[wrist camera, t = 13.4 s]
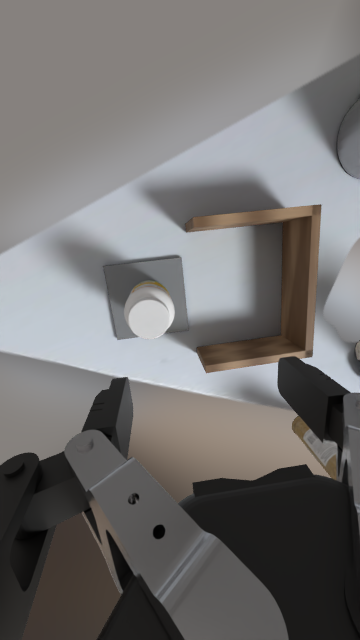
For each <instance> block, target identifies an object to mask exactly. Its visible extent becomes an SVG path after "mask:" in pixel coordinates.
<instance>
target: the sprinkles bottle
mask: <svg viewBox="0 0 360 640" xmlns="http://www.w3.org/2000/svg"><path fill="white" fill-rule="evenodd" d="M292 430H293V431H294V433H295V434H297V435H298V437H299V438H300V439H301V440H302V442H303V443H304V444H305V446H306V447H307V449H308V450H309V451H310V453H311V454H312V455H313V456H314V457H315V459H316V460H317V461H318V462H319V463H320V464H321V465H322V466H323V468H324V469H325V470H326V472H327V473H328V474H329V475H330V477H331V478H332V479H334V480H336V448H337V444H336V443H335V442H330V443H324V444H323V443H322V442H321V441H320V440H319V438H318V437H317V436H316V435H315V434H314V433H313V432H312V430H311V429H310V428H309V427H308V426H307V425H306V423H305V422H304V421H303V420H302V419H301V418H300V417H299V416H297V417H296V418H295V419H294V421H293V423H292Z"/></svg>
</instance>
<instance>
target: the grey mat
mask: <svg viewBox="0 0 360 640" xmlns="http://www.w3.org/2000/svg"><path fill="white" fill-rule="evenodd" d="M103 268H104V273H105V278H106V283H107V288H108V293H109V299H110V304H111V309H112V314H113V319H114V324H115V329H116V335H117V340H121V339H128V338H135V337H138V336H137V335H135V334H134V333H133V332H132V330H131V329H130V327H129V326H128V324H127V322H126V320H125V316H124V307H125V303H126V301H127V299H128V297H129V295H130V293H131V291H132V290H133V288H134V287H135V286H136V285H137V284H139V283H141V282H143V281H148V280H151V281H156V282H159V283H160V284H162V285H163V286H164V287H165V288H166V289H167V291H168V292H169V295H170V297H171V300H172V302H173V305H174V310H175V314H174V319H173V322H172V324H171V325H170V327H169V328H168V329H167V330H166V332H165V333H171V332H179V331H186V330H189V327H188V318H187V308H186V298H185V288H184V278H183V268H182V258H181V257H180V258H171V259H163V260H154V261H145V262H136V263H127V264H118V265H109V266H103Z"/></svg>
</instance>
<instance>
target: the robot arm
mask: <svg viewBox="0 0 360 640" xmlns="http://www.w3.org/2000/svg"><path fill="white" fill-rule="evenodd" d="M337 148H338V155H339V159H340V162H341V164H342V166H343V168H344V169H345V170H346V171H347V173H349V174H350V175H351V176H353V177H355V178H357V179H360V99H359V100H358V101H357V102H356V103H355V104H354V105H353V106H352V107H351V108H350V110H349V111H348V113H347V114H346V115H345V117H344V119H343V122H342V124H341V127H340V130H339V133H338V141H337ZM278 389H279V392H280V394H281V396H282V397H283V398H284V399H285V400H286V401H287V403H288V404H289V405H290V406H291V407H292V408H293V410H294V411H295V412H296V413H297V414H298V415H299V417H300V418H301V419H302V420H303V421H304V422H305V423H306V425H307V426H308V427H309V428H310V429H311V430H312V432H313V433H314V434H315V435H316V436H317V437H318V438H319V440H320V441H321V442H322V443H323V444H324V443H330V442H335V443H336V444H337V448H336V480H334V479H332V478H328V477H324V476H320V475H313V473H312V472H311V471H310V469H309V468H308V466H307V465H306V464H305V465H299V466H293V467H287V468H281V469H277V470H275V471H273V472H271V473H269V474H267V475H265V476H263V477H261V478H258V479H256V480H253V481H249V480H237V479H226V478H220V479H214V480H207V481H201V482H194V483H193V493H194V494H192V495H190V496H188V497H186V498H185V499H183V500H182V501H180V502H179V503H177V502H176V501H175V500H174V499H173V498H172V497H171V496H170V495H169V494H168V493H167V492H166V491H165V490H164V489H163V488H162V486H161V485H160V484H159V483H158V482H157V481H156V480H155V479H154V478H153V477H152V476H151V475H150V474H149V472H148V471H147V470H146V469H145V468H144V467H143V466H142V465H141V464H140V463H139V462H138V461H137V460H136V459H135V458H133V457H131V458H130V459H128V460H127V456H128V448H129V441H130V434H131V427H132V419H133V403H132V398H131V391H130V386H129V380H128V377H123V378H116V379H112V381H111V385H110V388H109V389H107V390H102V391H101V392H100V393H99V394H98V395H97V396H96V397H95V400H94V402H93V406H92V407H91V410H90V412H89V414H88V417H87V419H86V422H85V424H84V427H83V429H82V432H81V433H79V434H77V435H76V436H74V437H73V438H72V439H71V440H70V441H69V442H68V443H67V445H66V447H65V450H64V451H63V452H62V453H59V454H57V455H54V456H52V457H49V458H47V459H44V460H41V461H39V458H38V456H37V455H36V454H34V453H23V454H19V455H17V456H14V457H12V458H11V459H9V460H7V461H6V462H4V463H3V464H2V465H0V640H22V637H23V633H24V630H25V627H26V624H27V620H28V617H29V613H30V610H31V607H32V603H33V600H34V597H35V594H36V591H37V587H38V584H39V581H40V578H41V574H42V571H43V568H44V564H45V561H46V558H47V554H48V551H49V548H50V545H51V541H52V538H53V535H54V532H55V528H56V525H57V524H59V523H61V522H63V521H64V520H67V519H69V518H71V517H73V516H75V515H77V514H79V513H81V512H82V514H83V516H84V518H85V520H86V522H87V523H88V526H89V527H90V529H91V531H92V533H93V535H94V537H95V539H96V541H97V543H98V545H99V547H100V549H101V551H102V553H103V555H104V557H105V560H106V562H107V565H108V567H109V570H110V572H111V575H112V577H113V579H114V581H115V584H116V586H117V588H118V590H119V592H120V594H121V597H120V599H119V600H118V602H117V604H116V606H115V607H114V609H113V611H112V613H111V615H110V616H109V618H108V620H107V622H106V623H105V625H104V627H103V629H102V631H101V633H100V634H99V636H98V638H97V639H96V640H360V393H351V392H349V391H348V390H346V389H345V388H344V387H342V386H341V385H340V384H338V383H337V382H335V381H334V380H333V379H331V378H330V377H329V376H327V375H325V374H324V373H323V372H322V371H320V370H319V369H318V368H316V367H313V366H311V365H309V364H305V363H304V362H303V361H301V360H300V359H299V358H297V357H296V356H290V357H282V358H280V359H279V362H278Z"/></svg>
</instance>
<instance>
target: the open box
mask: <svg viewBox="0 0 360 640" xmlns="http://www.w3.org/2000/svg"><path fill="white" fill-rule="evenodd" d="M320 220H321V205H311V206H301V207H291V208H281V209H271V210H261V211H251V212H241V213H231V214H221V215H211V216H201V217H193V218H192V219H191V220H189V221H188V222H187V223H186V224H185V226H186V232H195V231H205V230H214V229H224V228H233V227H243V226H252V225H262V224H271V223H281V222H283V241H282V299H281V335H279V336H272V337H265V338H258V339H251V340H244V341H237V342H230V343H223V344H216V345H209V346H202V347H197V354H198V356H199V358H200V361H201V363H202V365H203V367H204V370H205V372H206V373H210V372H216V371H223V370H230V369H236V368H243V367H249V366H256V365H262V364H269V363H275V362H279V359H280V358H282V357H290V356H296V357H297V358H299V359H302V358H308V357H312V355H313V338H314V321H315V304H316V287H317V270H318V253H319V237H320Z"/></svg>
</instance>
